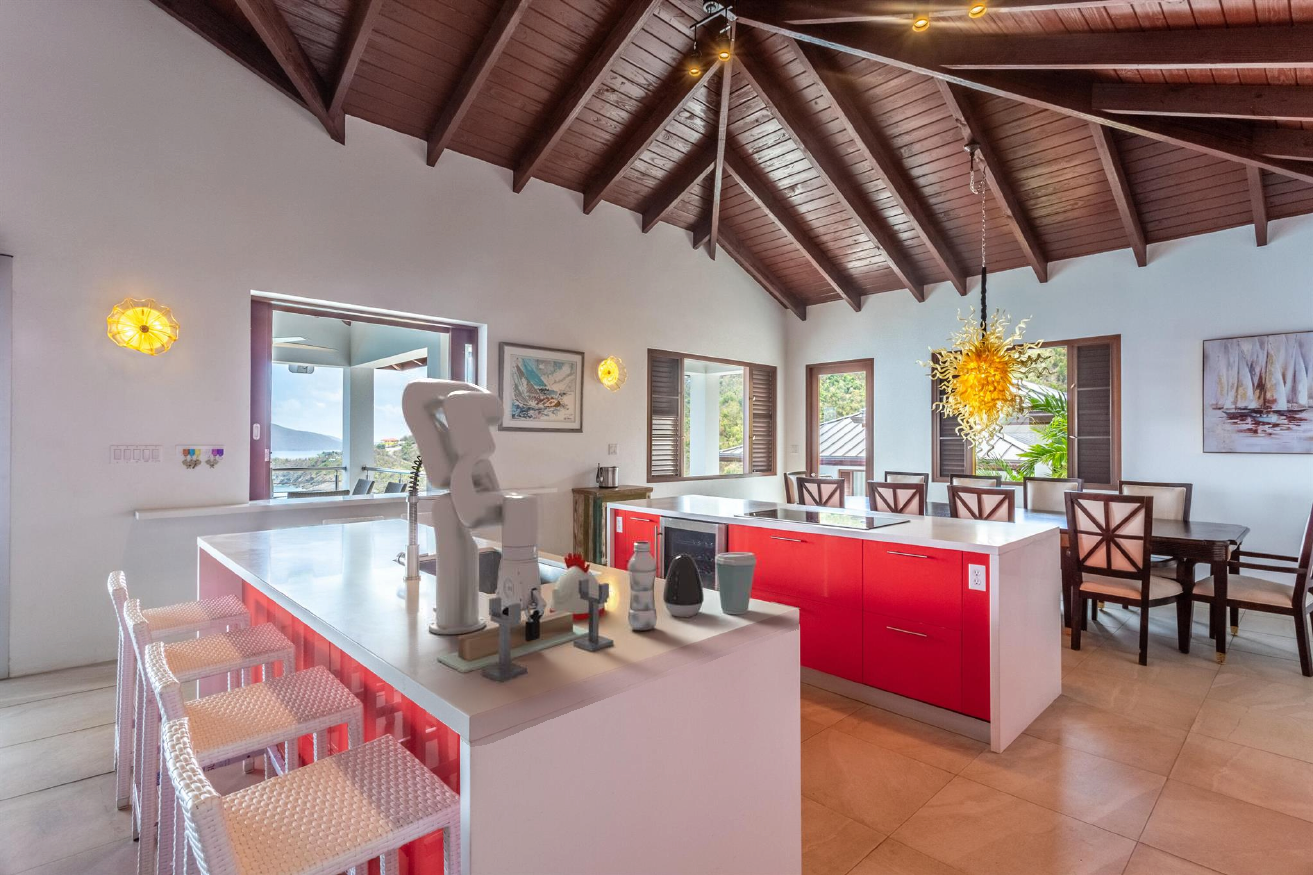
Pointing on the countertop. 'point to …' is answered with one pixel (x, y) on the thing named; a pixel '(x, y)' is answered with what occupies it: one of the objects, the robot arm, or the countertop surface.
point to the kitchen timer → (574, 589)
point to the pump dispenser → (683, 587)
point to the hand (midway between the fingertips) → (519, 634)
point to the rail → (512, 636)
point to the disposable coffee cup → (735, 580)
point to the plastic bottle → (642, 588)
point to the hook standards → (506, 667)
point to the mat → (493, 659)
